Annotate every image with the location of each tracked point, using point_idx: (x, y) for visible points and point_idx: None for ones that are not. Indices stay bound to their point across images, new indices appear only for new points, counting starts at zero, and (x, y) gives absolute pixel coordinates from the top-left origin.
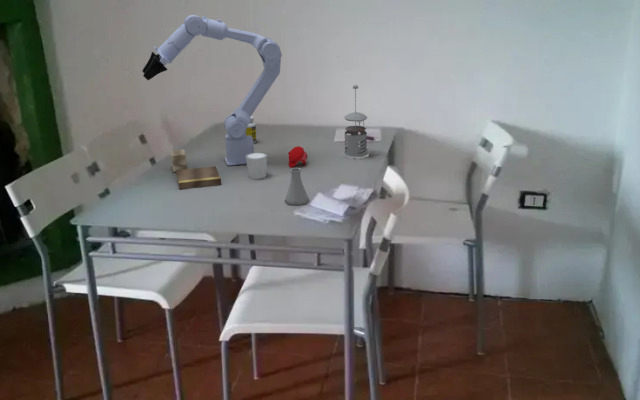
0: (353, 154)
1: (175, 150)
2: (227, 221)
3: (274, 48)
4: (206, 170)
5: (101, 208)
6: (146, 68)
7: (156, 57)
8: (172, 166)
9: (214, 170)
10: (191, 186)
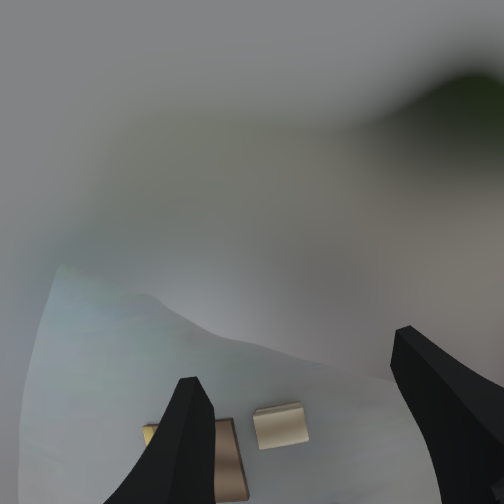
0: None
1: (304, 419)
2: (31, 465)
3: None
4: (218, 483)
5: (87, 288)
6: (416, 368)
7: (484, 487)
8: (282, 406)
9: (216, 497)
10: None
